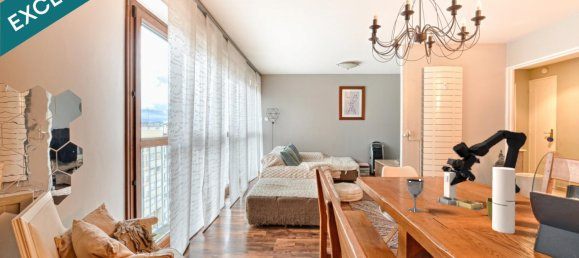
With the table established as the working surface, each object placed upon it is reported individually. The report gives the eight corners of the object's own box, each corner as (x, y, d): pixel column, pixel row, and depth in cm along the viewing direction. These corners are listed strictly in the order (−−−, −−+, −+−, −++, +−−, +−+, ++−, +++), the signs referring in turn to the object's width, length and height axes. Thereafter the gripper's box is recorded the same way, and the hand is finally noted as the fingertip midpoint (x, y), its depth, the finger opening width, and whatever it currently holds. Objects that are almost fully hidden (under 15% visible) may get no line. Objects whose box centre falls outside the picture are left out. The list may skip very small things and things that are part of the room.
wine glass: (420, 208, 138) (420, 178, 138) (426, 213, 130) (426, 182, 130) (404, 207, 139) (404, 178, 139) (409, 212, 131) (409, 181, 131)
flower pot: (511, 226, 113) (511, 204, 113) (486, 221, 118) (486, 201, 118) (510, 220, 120) (510, 200, 120) (486, 216, 125) (486, 197, 125)
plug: (450, 195, 147) (450, 171, 147) (456, 197, 143) (456, 173, 143) (443, 195, 146) (443, 171, 146) (448, 197, 143) (448, 173, 142)
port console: (443, 200, 153) (443, 194, 153) (485, 208, 138) (485, 202, 138) (434, 203, 145) (434, 198, 145) (478, 212, 130) (478, 206, 130)
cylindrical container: (519, 234, 104) (519, 169, 104) (498, 232, 106) (498, 169, 105) (508, 227, 111) (508, 167, 111) (488, 226, 113) (489, 166, 112)
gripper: (444, 151, 154) (426, 171, 153) (470, 155, 136) (450, 177, 135) (457, 165, 156) (439, 184, 154) (484, 170, 137) (464, 192, 136)
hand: (447, 184), depth 145 cm, fingers closed on plug, 4 cm apart
